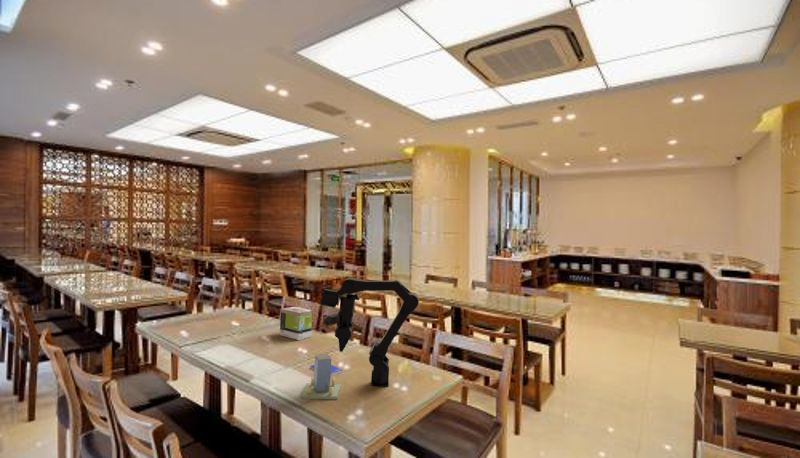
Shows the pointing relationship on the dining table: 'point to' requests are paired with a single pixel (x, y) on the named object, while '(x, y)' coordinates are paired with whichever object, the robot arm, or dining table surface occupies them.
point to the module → (322, 373)
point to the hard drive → (333, 369)
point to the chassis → (311, 394)
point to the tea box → (296, 323)
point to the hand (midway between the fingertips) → (341, 347)
